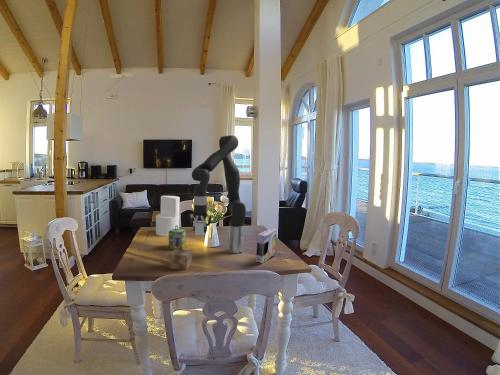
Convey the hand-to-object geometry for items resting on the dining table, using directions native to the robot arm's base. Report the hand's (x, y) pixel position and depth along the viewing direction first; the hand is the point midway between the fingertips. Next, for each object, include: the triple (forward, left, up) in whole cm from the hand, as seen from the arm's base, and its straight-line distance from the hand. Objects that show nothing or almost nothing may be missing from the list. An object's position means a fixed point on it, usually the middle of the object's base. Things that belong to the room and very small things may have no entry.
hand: (200, 232), depth 188 cm
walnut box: (+8, +10, -17) cm, 22 cm away
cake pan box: (-39, -11, -18) cm, 44 cm away
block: (0, 0, -1) cm, 1 cm away
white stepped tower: (+38, -58, -18) cm, 72 cm away
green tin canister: (+20, -24, -18) cm, 36 cm away
